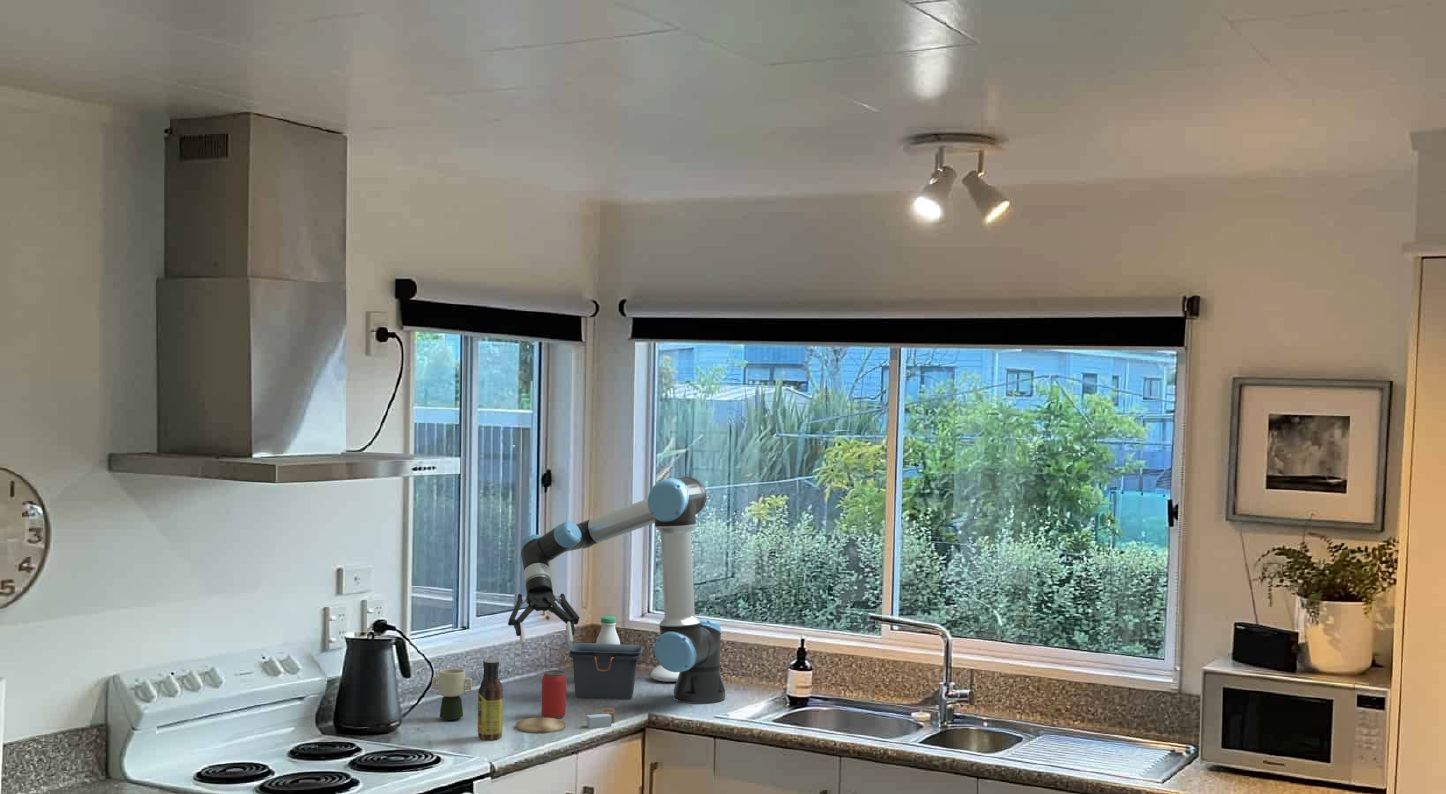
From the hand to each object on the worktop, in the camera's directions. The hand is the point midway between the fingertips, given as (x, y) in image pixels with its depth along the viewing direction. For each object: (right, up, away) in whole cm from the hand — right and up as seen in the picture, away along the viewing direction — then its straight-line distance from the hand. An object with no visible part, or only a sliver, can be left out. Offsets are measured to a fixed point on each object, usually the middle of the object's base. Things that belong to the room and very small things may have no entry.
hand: (547, 643), depth 386 cm
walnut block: (+18, -18, -16) cm, 30 cm away
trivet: (+1, -18, -24) cm, 30 cm away
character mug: (-24, -17, -17) cm, 34 cm away
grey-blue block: (+16, -18, -22) cm, 33 cm away
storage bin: (+15, -18, +14) cm, 27 cm away
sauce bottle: (-10, -18, -37) cm, 42 cm away
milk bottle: (+14, -18, +34) cm, 41 cm away
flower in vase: (+33, -18, +39) cm, 54 cm away
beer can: (+3, -18, -12) cm, 22 cm away
